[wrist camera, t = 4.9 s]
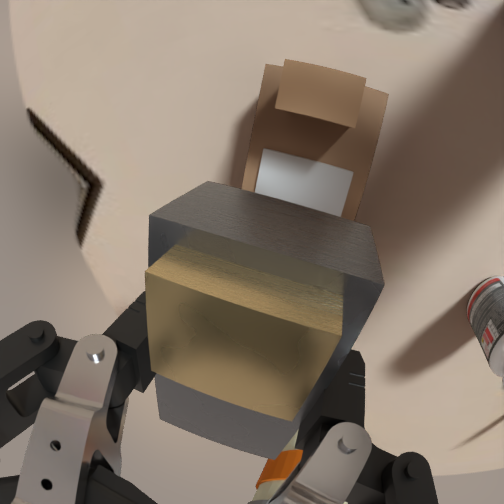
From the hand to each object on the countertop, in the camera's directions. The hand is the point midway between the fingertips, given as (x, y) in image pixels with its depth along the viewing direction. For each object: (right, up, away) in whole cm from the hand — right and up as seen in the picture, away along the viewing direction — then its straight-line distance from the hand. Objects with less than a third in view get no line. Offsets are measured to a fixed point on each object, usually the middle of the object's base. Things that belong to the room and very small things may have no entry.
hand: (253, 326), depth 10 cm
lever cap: (0, 0, 0) cm, 0 cm away
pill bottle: (+22, -2, +10) cm, 24 cm away
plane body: (+3, +5, +12) cm, 13 cm away
